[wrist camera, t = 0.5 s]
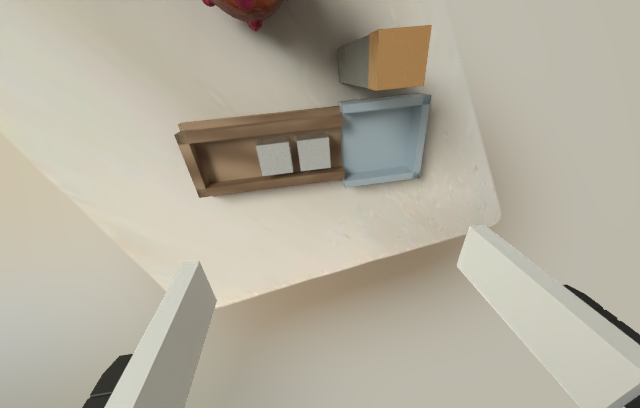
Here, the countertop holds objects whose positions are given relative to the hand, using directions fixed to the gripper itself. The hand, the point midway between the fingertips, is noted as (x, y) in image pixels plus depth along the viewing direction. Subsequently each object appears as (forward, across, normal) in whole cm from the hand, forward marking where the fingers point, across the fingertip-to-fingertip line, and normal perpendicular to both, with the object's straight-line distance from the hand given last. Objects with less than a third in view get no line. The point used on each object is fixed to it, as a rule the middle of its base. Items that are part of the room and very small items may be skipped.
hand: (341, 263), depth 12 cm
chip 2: (+23, +1, -1) cm, 23 cm away
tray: (+24, +10, -1) cm, 26 cm away
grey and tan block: (+24, +6, +9) cm, 26 cm away
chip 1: (+23, -4, -1) cm, 23 cm away
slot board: (+24, -5, -1) cm, 24 cm away
